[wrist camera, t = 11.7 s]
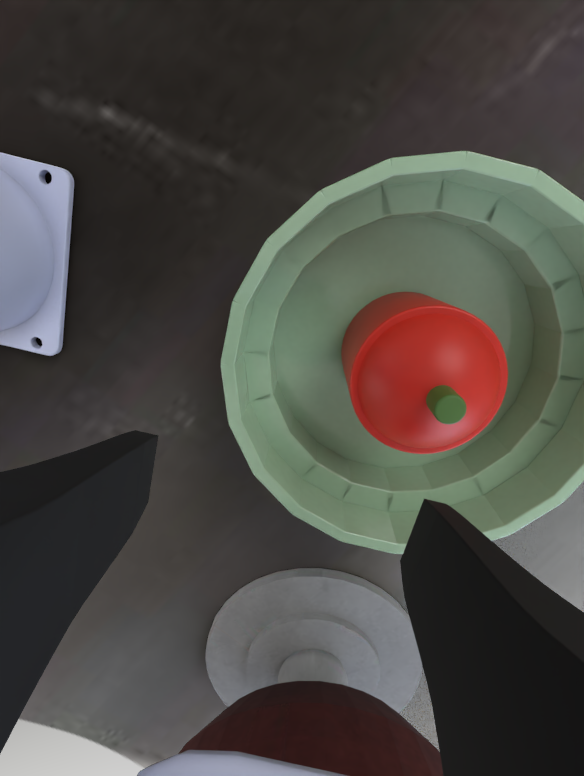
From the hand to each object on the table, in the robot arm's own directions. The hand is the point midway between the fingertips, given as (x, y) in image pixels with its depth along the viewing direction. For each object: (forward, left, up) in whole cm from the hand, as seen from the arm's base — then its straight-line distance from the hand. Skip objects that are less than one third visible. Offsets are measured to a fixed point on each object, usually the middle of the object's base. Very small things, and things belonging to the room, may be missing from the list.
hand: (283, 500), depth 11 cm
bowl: (+4, +3, -9) cm, 11 cm away
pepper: (+4, +3, -9) cm, 10 cm away
